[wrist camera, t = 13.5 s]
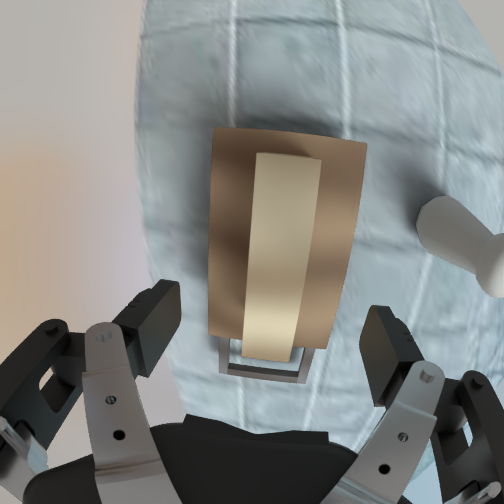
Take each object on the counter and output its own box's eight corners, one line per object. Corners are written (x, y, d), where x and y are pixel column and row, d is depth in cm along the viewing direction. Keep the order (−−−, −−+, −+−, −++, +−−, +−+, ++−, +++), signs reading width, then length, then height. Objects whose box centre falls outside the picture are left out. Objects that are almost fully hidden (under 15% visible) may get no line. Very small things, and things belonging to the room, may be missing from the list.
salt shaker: (426, 180, 22) (514, 211, 10) (461, 210, 22) (544, 255, 10) (399, 230, 24) (468, 295, 12) (435, 256, 24) (504, 323, 12)
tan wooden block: (229, 131, 21) (186, 120, 12) (350, 144, 20) (394, 142, 11) (220, 367, 30) (198, 434, 21) (304, 377, 30) (304, 449, 20)
